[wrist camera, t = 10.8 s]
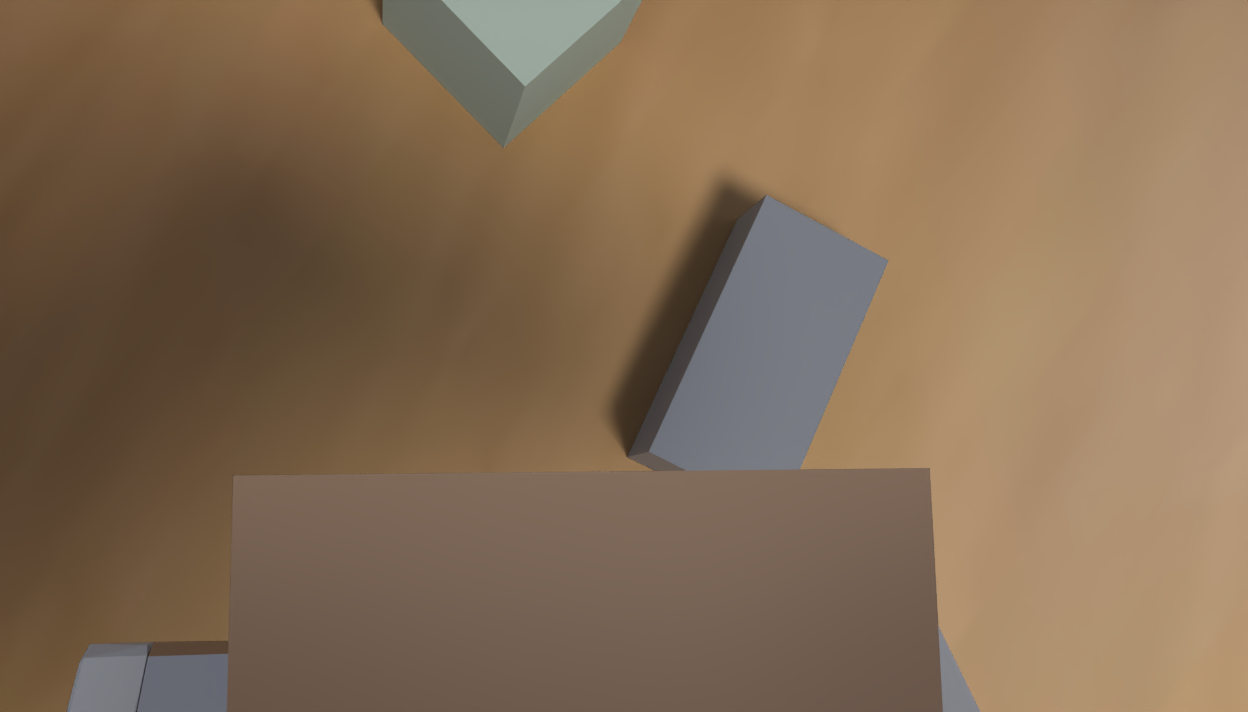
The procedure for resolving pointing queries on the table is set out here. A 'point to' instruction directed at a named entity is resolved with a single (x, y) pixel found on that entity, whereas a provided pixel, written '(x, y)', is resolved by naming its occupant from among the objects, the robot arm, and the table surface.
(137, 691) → the robot arm
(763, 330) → the grey flat brick
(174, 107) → the table surface
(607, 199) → the table surface
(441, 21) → the sage cube
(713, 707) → the walnut column
